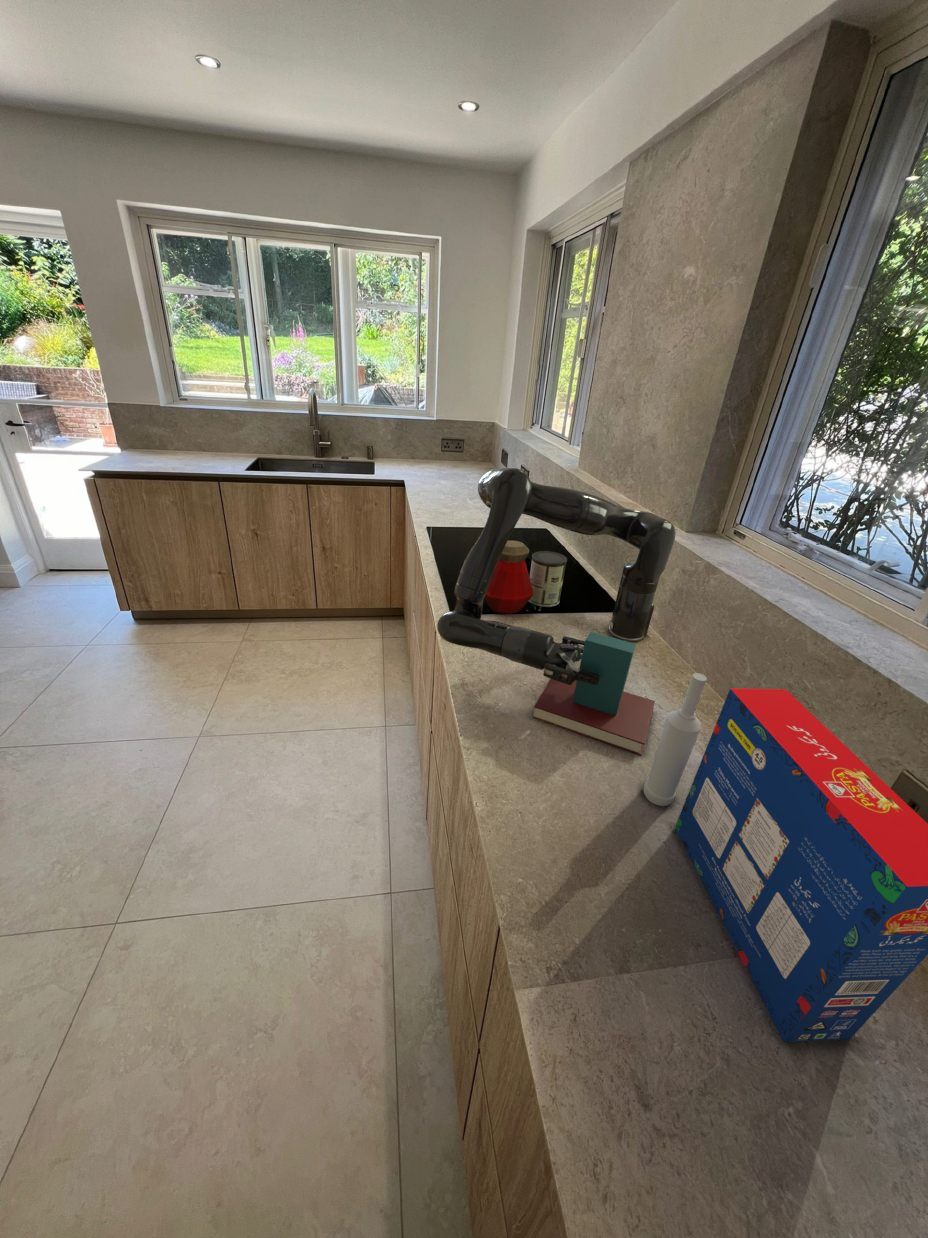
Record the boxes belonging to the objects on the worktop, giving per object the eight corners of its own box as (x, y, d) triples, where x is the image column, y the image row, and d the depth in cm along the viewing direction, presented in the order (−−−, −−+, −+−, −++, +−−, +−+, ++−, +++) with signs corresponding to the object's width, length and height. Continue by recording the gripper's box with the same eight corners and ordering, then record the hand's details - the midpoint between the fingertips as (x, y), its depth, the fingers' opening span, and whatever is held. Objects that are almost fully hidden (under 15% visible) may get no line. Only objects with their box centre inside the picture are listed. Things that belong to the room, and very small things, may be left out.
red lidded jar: (522, 596, 153) (530, 534, 144) (538, 617, 142) (548, 551, 132) (473, 599, 149) (478, 535, 140) (485, 620, 138) (492, 552, 129)
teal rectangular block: (572, 701, 103) (585, 640, 95) (577, 691, 106) (590, 631, 99) (615, 716, 99) (632, 653, 92) (619, 705, 103) (636, 643, 96)
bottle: (673, 789, 87) (716, 671, 75) (674, 811, 83) (720, 690, 71) (642, 780, 88) (680, 664, 77) (642, 801, 84) (682, 682, 72)
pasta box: (850, 1039, 56) (991, 884, 42) (783, 1042, 55) (906, 886, 42) (721, 828, 80) (785, 689, 67) (674, 829, 80) (730, 688, 66)
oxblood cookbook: (532, 717, 102) (534, 706, 100) (553, 681, 114) (555, 670, 113) (641, 755, 94) (645, 743, 93) (651, 712, 106) (655, 701, 105)
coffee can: (539, 589, 159) (545, 548, 152) (566, 600, 153) (573, 558, 146) (519, 598, 152) (525, 555, 145) (546, 610, 146) (554, 566, 139)
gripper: (517, 646, 97) (599, 671, 91) (540, 618, 108) (614, 638, 103) (513, 678, 100) (591, 703, 95) (535, 647, 112) (607, 668, 106)
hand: (603, 669), depth 99 cm, fingers open, 8 cm apart
